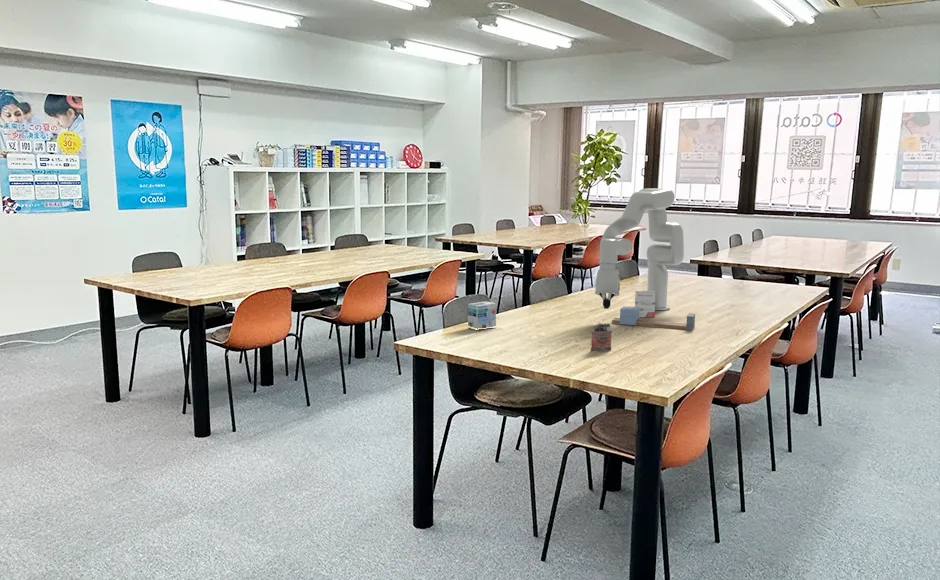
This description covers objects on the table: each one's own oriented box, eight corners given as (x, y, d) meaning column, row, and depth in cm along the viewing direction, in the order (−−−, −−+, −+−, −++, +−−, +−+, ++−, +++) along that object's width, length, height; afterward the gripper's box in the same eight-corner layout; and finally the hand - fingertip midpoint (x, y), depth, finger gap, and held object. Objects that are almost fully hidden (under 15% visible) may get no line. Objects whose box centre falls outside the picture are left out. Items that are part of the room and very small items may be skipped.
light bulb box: (477, 331, 292) (477, 305, 290) (467, 328, 297) (467, 303, 295) (496, 328, 299) (497, 302, 297) (486, 325, 304) (486, 300, 302)
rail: (615, 320, 315) (615, 307, 314) (694, 327, 302) (695, 313, 301) (611, 323, 308) (611, 310, 307) (692, 330, 295) (693, 316, 294)
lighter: (593, 352, 257) (593, 325, 256) (589, 349, 260) (589, 323, 259) (613, 350, 259) (614, 324, 258) (608, 348, 263) (609, 322, 261)
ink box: (652, 315, 328) (653, 290, 326) (654, 317, 323) (655, 291, 321) (633, 315, 329) (634, 289, 327) (635, 317, 324) (636, 291, 322)
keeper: (623, 320, 314) (623, 306, 313) (639, 321, 311) (639, 307, 310) (619, 323, 306) (619, 309, 306) (635, 325, 304) (636, 310, 303)
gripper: (627, 267, 309) (625, 308, 312) (593, 265, 315) (591, 305, 318) (623, 268, 303) (621, 310, 305) (589, 266, 308) (587, 308, 311)
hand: (606, 308), depth 312 cm, fingers closed
